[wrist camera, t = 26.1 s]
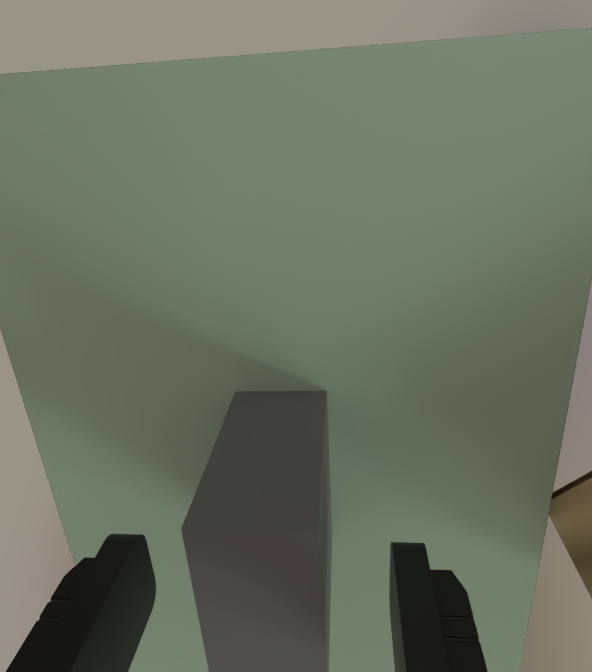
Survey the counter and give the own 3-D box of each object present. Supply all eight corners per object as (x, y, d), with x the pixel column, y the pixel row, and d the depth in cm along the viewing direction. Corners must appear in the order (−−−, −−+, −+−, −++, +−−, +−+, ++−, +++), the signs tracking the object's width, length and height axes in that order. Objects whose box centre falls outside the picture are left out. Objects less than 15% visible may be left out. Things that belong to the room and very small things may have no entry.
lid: (493, 735, 21) (550, 970, 15) (142, 714, 22) (73, 920, 16) (607, 34, 11) (906, -62, 5) (-41, 83, 12) (-373, 53, 7)
